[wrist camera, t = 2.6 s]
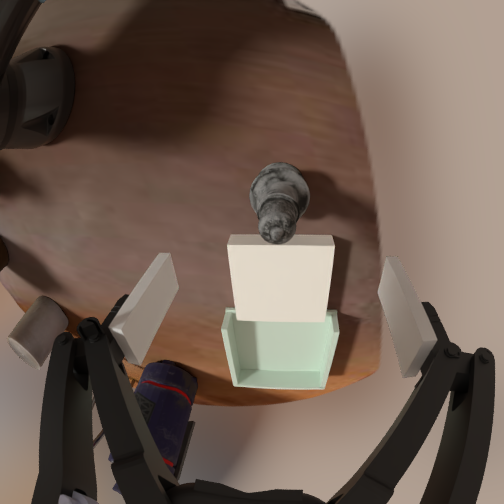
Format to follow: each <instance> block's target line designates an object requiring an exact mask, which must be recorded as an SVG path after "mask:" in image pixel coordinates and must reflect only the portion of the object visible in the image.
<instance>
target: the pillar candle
mask: <svg viewBox="0 0 504 504" xmlns="http://www.w3.org/2000/svg"><path fill="white" fill-rule="evenodd" d="M67 326H68V319H67V317H66V316H65V314H64V313H63V311H62V310H61V308H60V307H59V306H58V305H57V304H56V303H55V302H54V301H52V300H51V299H50V298H48V297H45V296H40V297H38V298H37V299H36V301H35V302H34V303H33V304H32V306H31V307H30V308H29V309H28V311H27V312H26V313H25V314H24V316H23V317H22V319H21V320H20V321H19V322H18V324H17V325H16V327H15V328H14V329H13V331H12V332H11V334H10V335H9V336H8V338H7V341H8V343H9V345H10V347H11V348H12V349H13V350H14V352H15V353H16V354H17V355H18V356H19V358H21V359H22V360H23V361H24V362H25V363H27V364H28V365H30V366H31V367H33V368H35V369H38V370H39V369H41V366H42V365H43V363H44V361H45V360H46V358H47V357H48V355H49V353H50V352H51V350H52V347H53V343H54V340H55V338H56V337H57V336H58V335H59V334H61V333H63V332H64V330H65V329H66V328H67Z"/></svg>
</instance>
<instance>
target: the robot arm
mask: <svg viewBox="0 0 504 504" xmlns="http://www.w3.org/2000/svg"><path fill="white" fill-rule="evenodd" d="M45 1H46V0H0V150H2V149H33V148H37V147H40V146H42V145H45V144H47V143H49V142H51V141H52V140H54V139H55V138H56V137H57V136H58V135H59V133H60V132H61V131H62V129H63V128H64V126H65V124H66V122H67V120H68V117H69V115H70V112H71V108H72V104H73V99H74V91H75V78H74V71H73V67H72V64H71V61H70V59H69V57H68V56H67V54H66V53H65V52H64V51H63V50H61V49H59V48H57V47H39V48H35V49H32V50H30V51H28V52H26V53H23V54H21V55H19V56H17V57H15V58H13V59H11V58H12V56H13V54H14V52H15V50H16V47H17V45H18V43H19V42H20V40H21V38H22V36H23V34H24V32H25V30H26V28H27V27H28V25H29V23H30V21H31V20H32V18H33V16H34V15H35V13H36V12H37V10H38V8H39V7H40V5H41V4H42V3H44V2H45ZM178 289H179V286H178V282H177V278H176V274H175V271H174V267H173V263H172V258H171V254H170V253H159V254H158V256H157V257H156V258H155V260H154V261H153V262H152V264H151V265H150V267H149V268H148V269H147V271H146V272H145V274H144V275H143V276H142V278H141V279H140V281H139V282H138V283H137V285H136V286H135V288H134V289H133V291H132V292H131V294H130V295H126V294H125V295H124V296H123V297H121V298H120V299H119V300H118V301H117V303H116V304H115V306H114V307H113V308H112V310H111V312H110V313H109V314H108V316H107V317H106V319H105V320H104V322H103V323H102V325H100V323H99V321H98V319H97V318H95V317H89V318H86V319H84V320H82V321H81V322H80V323H79V325H78V326H77V332H78V334H79V335H80V337H81V338H74V337H73V336H72V334H71V333H69V332H63V333H61V334H59V335H58V336H57V337H56V338H55V340H54V343H53V347H52V352H51V356H50V361H49V367H48V372H47V378H46V384H45V390H44V397H43V404H42V413H41V425H40V441H39V474H38V478H37V482H36V486H35V490H34V494H33V498H32V503H31V504H98V503H97V484H96V474H95V464H94V453H93V435H92V390H93V394H94V398H95V402H96V406H97V410H98V414H99V417H100V420H101V424H102V428H103V431H104V434H105V437H106V440H107V443H108V446H109V449H110V452H111V455H112V457H113V463H112V464H111V469H112V472H113V475H114V477H115V480H116V482H117V485H118V487H119V489H120V492H121V494H122V496H123V498H124V500H125V502H126V504H386V503H387V502H388V501H389V500H390V498H391V497H392V495H393V493H394V488H395V486H396V485H397V483H398V482H399V480H400V479H401V477H402V476H403V475H404V473H405V472H406V470H407V469H408V467H409V466H410V464H411V462H412V461H413V459H414V458H415V456H416V455H417V453H418V451H419V450H420V448H421V446H422V445H423V443H424V441H425V439H426V437H427V436H428V434H429V432H430V430H431V428H432V426H433V424H434V422H435V420H436V419H437V416H438V414H439V412H440V410H441V408H442V406H443V404H444V401H445V399H446V397H447V395H448V392H449V391H451V394H450V401H449V406H448V412H447V417H446V422H445V426H444V431H443V435H442V439H441V443H440V446H439V450H438V453H437V457H436V460H435V463H434V467H433V470H432V473H431V476H430V479H429V481H428V484H427V487H426V489H425V492H424V494H423V497H422V499H421V502H420V504H476V501H477V497H478V494H479V491H480V487H481V483H482V480H483V476H484V471H485V467H486V462H487V457H488V451H489V445H490V440H491V432H492V424H493V414H494V397H495V359H494V356H493V354H492V352H491V351H489V350H488V349H486V348H478V349H477V350H476V352H475V353H474V354H470V353H464V352H461V349H460V348H459V347H458V346H457V345H456V344H454V343H451V342H450V341H449V338H448V336H447V334H446V331H445V329H444V327H443V325H442V323H441V322H440V319H439V317H438V314H437V312H436V310H435V308H434V307H433V306H432V305H431V304H430V303H429V302H421V301H420V299H419V297H418V295H417V293H416V291H415V289H414V287H413V285H412V283H411V281H410V279H409V277H408V275H407V273H406V271H405V269H404V268H403V266H402V264H401V262H400V260H399V258H398V256H386V260H385V264H384V269H383V273H382V277H381V281H380V285H379V289H378V295H379V298H380V301H381V304H382V307H383V310H384V313H385V316H386V319H387V323H388V326H389V329H390V333H391V336H392V340H393V343H394V346H395V350H396V354H397V357H398V361H399V365H400V369H401V373H402V377H403V378H406V377H413V376H416V375H417V374H418V372H419V370H421V373H422V377H421V378H420V380H419V381H418V383H417V384H416V385H415V389H414V391H413V392H412V394H411V396H410V398H409V399H408V401H407V403H406V404H405V406H404V407H403V409H402V411H401V412H400V414H399V415H398V417H397V418H396V420H395V422H394V423H393V425H392V426H391V427H390V429H389V430H388V432H387V433H386V435H385V436H384V437H383V439H382V440H381V442H380V443H379V444H378V446H377V447H376V448H375V450H374V451H373V452H372V454H371V455H370V456H369V457H368V459H367V460H366V461H365V462H364V464H363V465H362V466H361V467H360V468H359V470H358V471H357V472H356V473H355V474H354V475H353V477H352V478H351V479H350V480H349V481H348V482H347V483H346V484H345V485H344V486H343V487H342V488H341V489H340V490H339V491H338V492H337V493H336V494H335V495H334V496H333V497H332V498H331V499H330V500H329V501H328V502H327V503H325V502H323V501H322V500H320V499H319V498H316V497H314V496H312V495H309V494H305V493H303V490H282V489H275V490H269V491H262V492H254V493H245V492H242V491H239V490H237V489H234V488H231V487H228V486H226V485H223V484H220V483H214V482H209V481H204V480H198V479H196V481H195V483H186V484H181V485H179V483H178V481H177V480H176V478H175V477H174V475H173V474H172V473H171V472H170V470H169V469H168V467H167V466H166V464H165V462H164V460H163V458H162V456H161V454H160V452H159V450H158V448H157V446H156V444H155V442H154V440H153V438H152V435H151V433H150V431H149V429H148V427H147V424H146V422H145V420H144V417H143V415H142V413H141V410H140V408H139V405H138V403H137V400H136V397H135V395H134V392H133V390H132V387H131V384H130V381H129V378H128V376H127V373H126V370H125V367H124V364H123V363H122V360H123V358H124V356H125V358H126V359H127V361H128V363H131V364H136V365H141V363H142V361H143V359H144V357H145V355H146V353H147V351H148V349H149V347H150V345H151V342H152V340H153V338H154V336H155V334H156V332H157V330H158V328H159V326H160V324H161V322H162V320H163V318H164V316H165V314H166V312H167V310H168V308H169V306H170V304H171V302H172V300H173V299H174V297H175V295H176V293H177V291H178Z"/></svg>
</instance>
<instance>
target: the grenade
mask: <svg viewBox="0 0 504 504" xmlns="http://www.w3.org/2000/svg"><path fill="white" fill-rule="evenodd" d="M175 365H176V364H175V363H174V362H173V361H169V360H163V362H162V363H150V364H148V365H146V367H145V369H144V371H143V373H142V376H141V378H140V380H139V383H138V385H137V387H136V389H135V392H134V395H135V397H136V400H137V403H138V405H139V408H140V410H141V413H142V415H143V417H144V420H145V422H146V424H147V427H148V429H149V431H150V433H151V435H152V438H153V440H154V442H155V444H156V446H157V448H158V450H159V452H160V454H161V456H162V458H163V460H164V462H165V464H166V466H167V467H168V469H169V470H170V472H171V473H172V474H173V475H174V477H175V478H176V480H177V481H178V480H179V478H180V474H181V471H182V467H183V464H184V460H185V457H186V453H187V450H188V446H189V443H190V439H191V436H192V432H193V429H194V425H195V422H194V421H188V420H189V417H190V413H191V410H192V407H191V406H192V405H193V402H194V398H195V395H196V391H197V388H198V384H197V379H196V378H195V377H192V376H191V375H190V374H189V373H188V372H186V371H185V370H183V369H181V368H179V367H176V366H175ZM108 460H109V461H110V462H112V463H113V457H112V455H111V453H110V455H109V458H108ZM113 490H114V491H117V492H118V493H120V494H121V492H120V489H119V487H118V485H117V482H116V484H115V485H114V487H113ZM121 495H122V494H121Z"/></svg>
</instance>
